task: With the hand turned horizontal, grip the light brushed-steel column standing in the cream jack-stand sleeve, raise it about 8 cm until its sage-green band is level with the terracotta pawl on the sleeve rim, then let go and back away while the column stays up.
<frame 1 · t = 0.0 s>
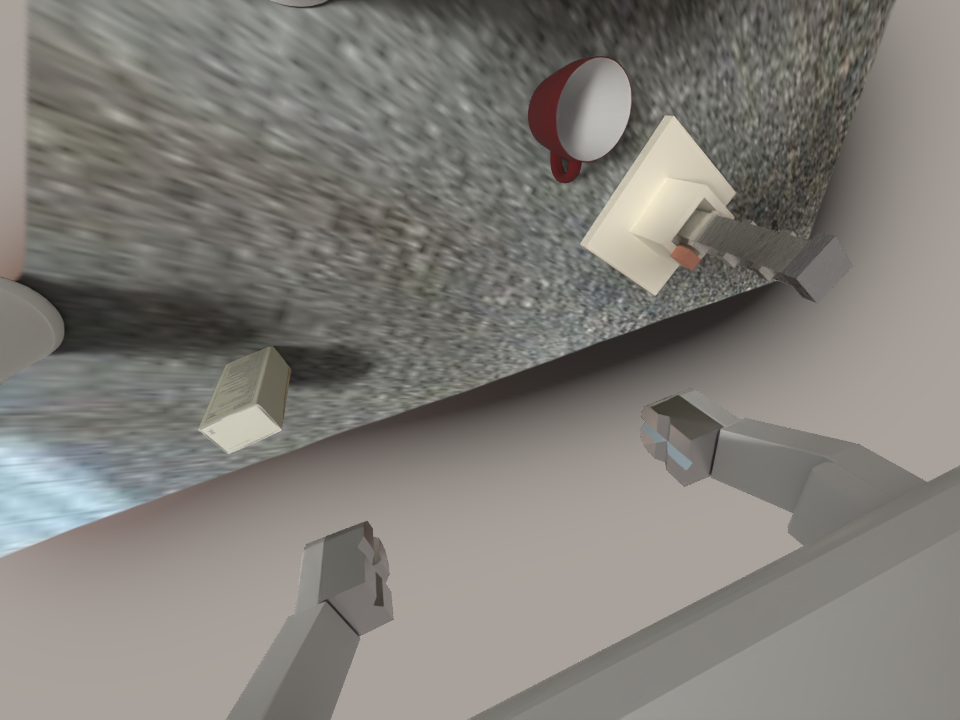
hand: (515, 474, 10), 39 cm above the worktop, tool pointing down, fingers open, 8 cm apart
skincare box: (260, 364, 46), on the worktop
mug: (544, 125, 42), on the worktop
column: (723, 238, 44), point 12 cm above the worktop, slide at 0.0 cm
stand: (656, 216, 53), on the worktop
vodka: (4, 313, 35), on the worktop
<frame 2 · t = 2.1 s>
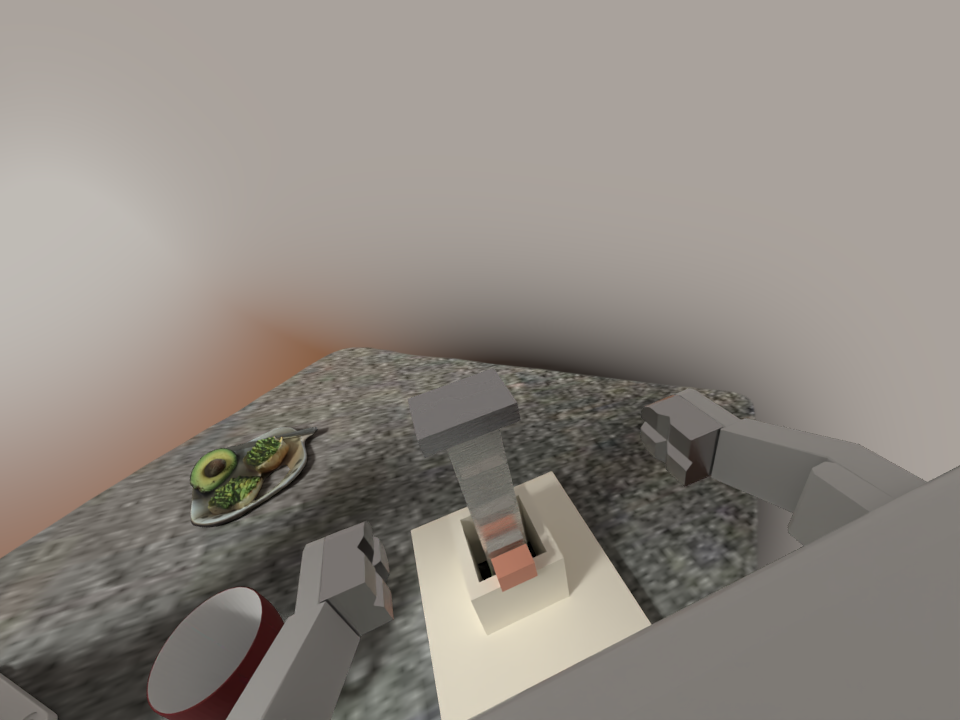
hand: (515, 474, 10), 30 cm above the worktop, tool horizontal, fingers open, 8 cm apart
salad plate: (252, 477, 57), on the worktop
mug: (284, 695, 32), on the worktop
column: (492, 509, 30), point 12 cm above the worktop, slide at 0.0 cm
stand: (514, 579, 36), on the worktop
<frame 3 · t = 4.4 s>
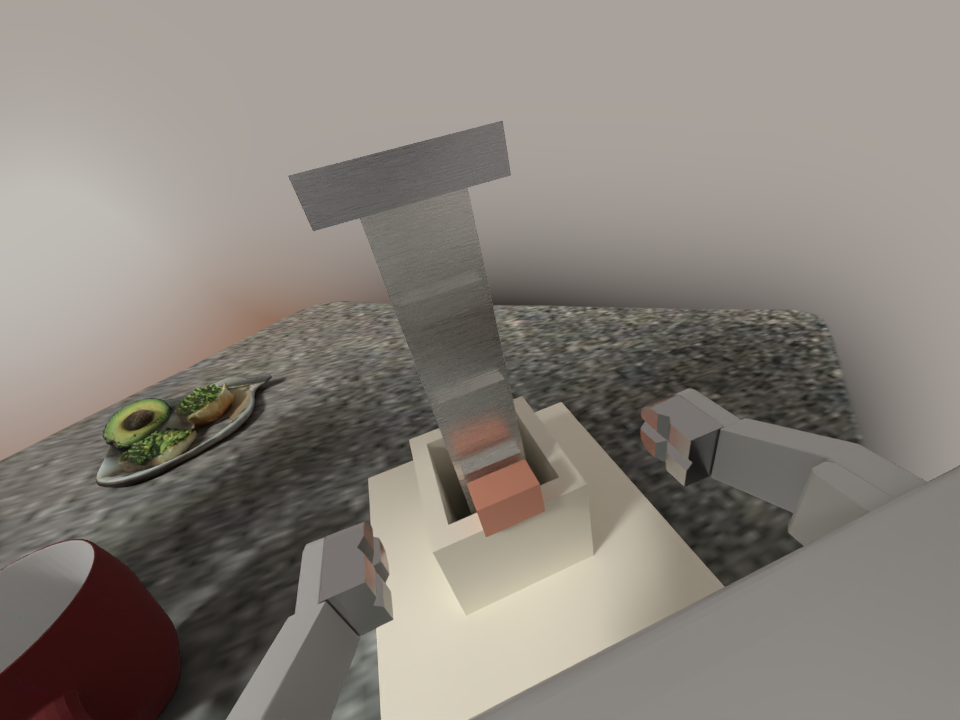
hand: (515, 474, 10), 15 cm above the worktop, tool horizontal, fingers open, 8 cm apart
salad plate: (187, 432, 46), on the worktop
mug: (155, 710, 21), on the worktop
column: (471, 409, 18), point 12 cm above the worktop, slide at 0.0 cm
stand: (510, 538, 25), on the worktop
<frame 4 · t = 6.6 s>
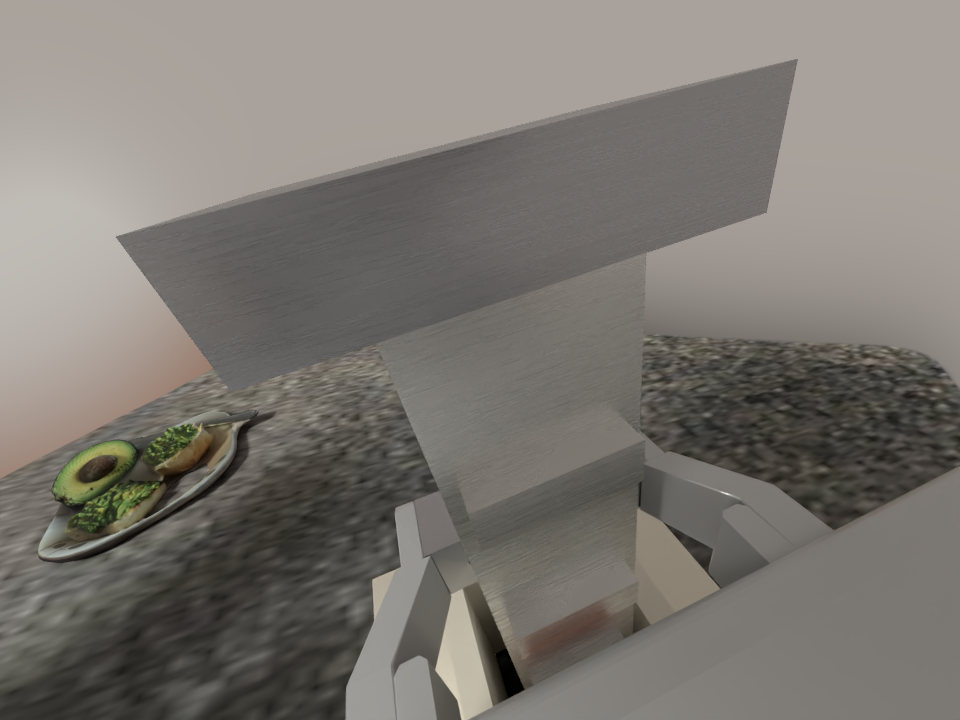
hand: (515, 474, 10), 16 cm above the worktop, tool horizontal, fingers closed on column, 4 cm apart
salad plate: (156, 481, 39), on the worktop
column: (545, 573, 11), point 12 cm above the worktop, slide at 0.0 cm, touching gripper
stand: (573, 696, 17), on the worktop
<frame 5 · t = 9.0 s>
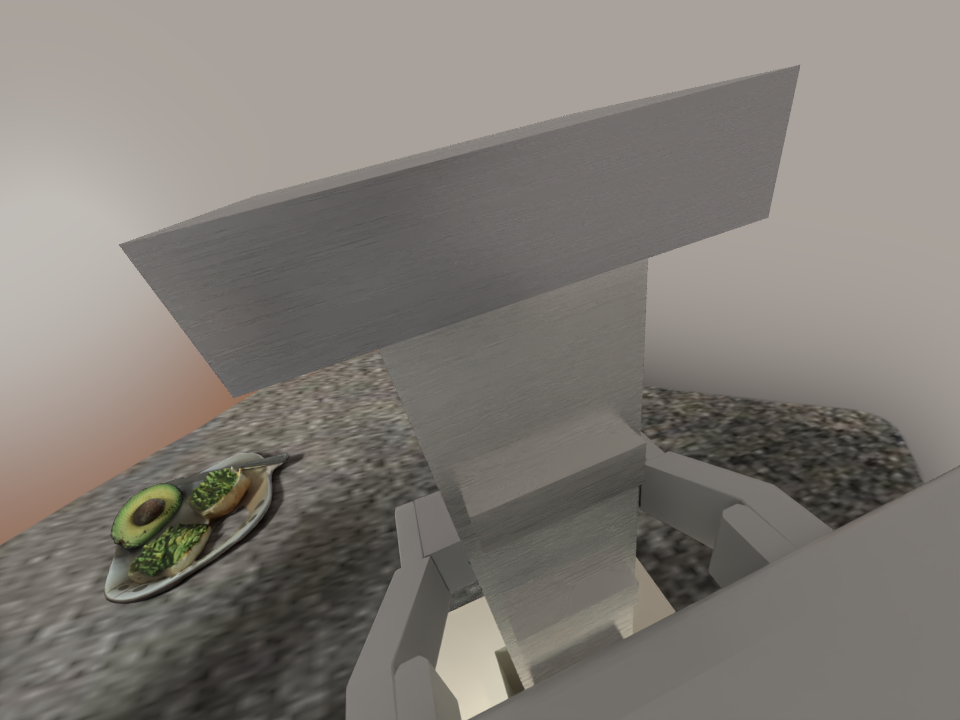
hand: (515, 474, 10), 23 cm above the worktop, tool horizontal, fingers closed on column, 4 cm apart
salad plate: (200, 522, 43), on the worktop
column: (546, 573, 11), point 20 cm above the worktop, slide at 7.8 cm, touching gripper
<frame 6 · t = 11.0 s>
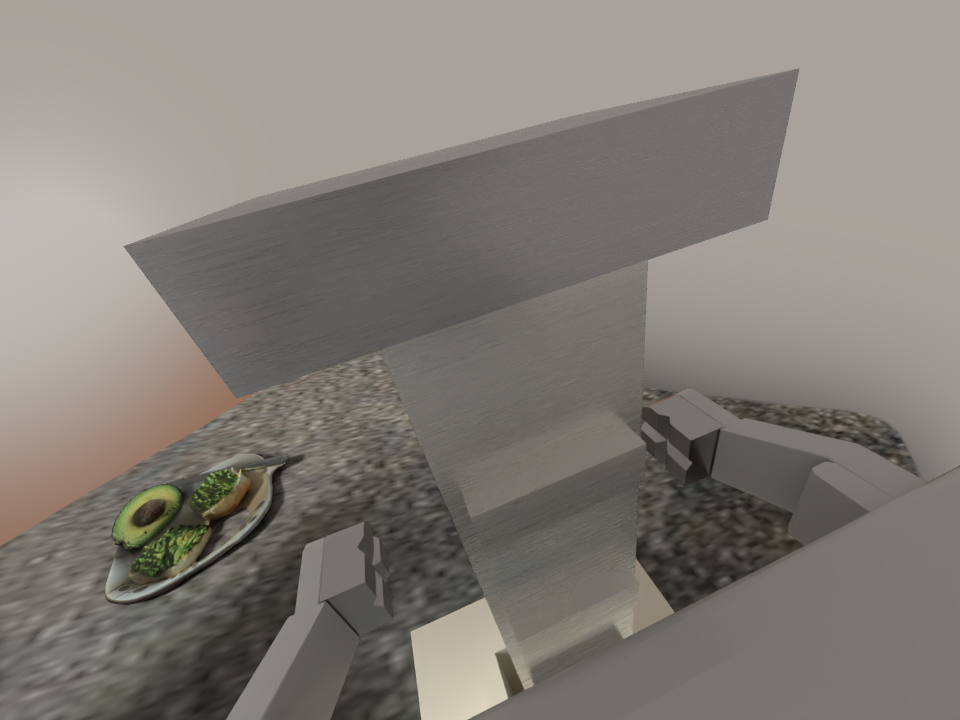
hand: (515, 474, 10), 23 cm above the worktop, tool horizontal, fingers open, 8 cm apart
salad plate: (201, 523, 43), on the worktop
column: (546, 574, 11), point 20 cm above the worktop, slide at 7.9 cm
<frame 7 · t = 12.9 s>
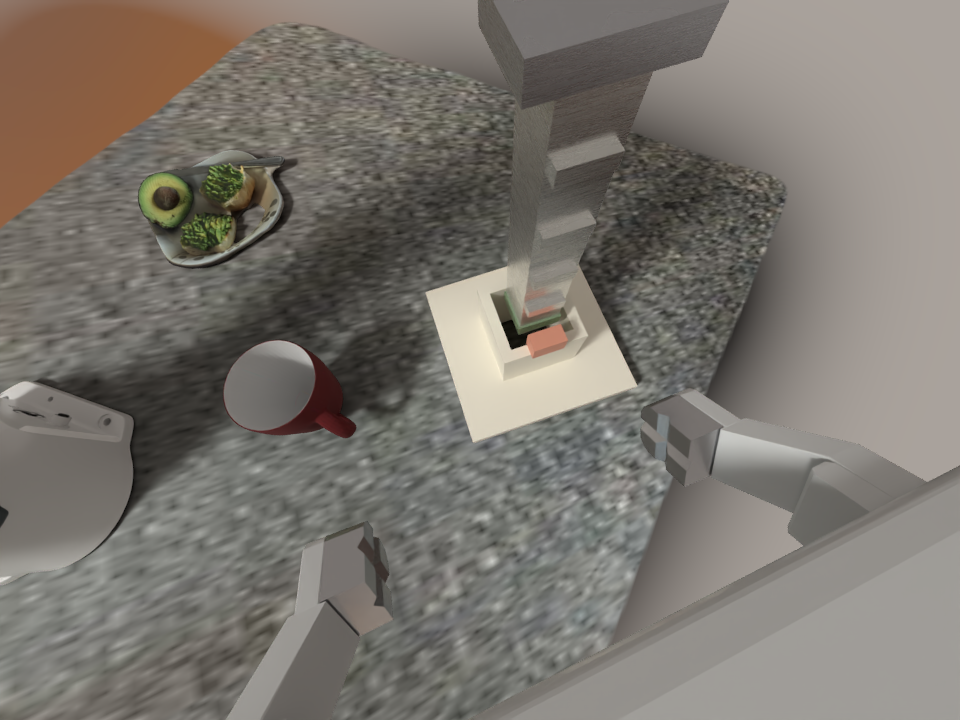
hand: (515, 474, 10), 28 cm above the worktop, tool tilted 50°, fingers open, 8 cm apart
salad plate: (218, 214, 49), on the worktop
mug: (334, 410, 40), on the worktop
column: (547, 230, 22), point 20 cm above the worktop, slide at 7.9 cm
stand: (524, 341, 41), on the worktop
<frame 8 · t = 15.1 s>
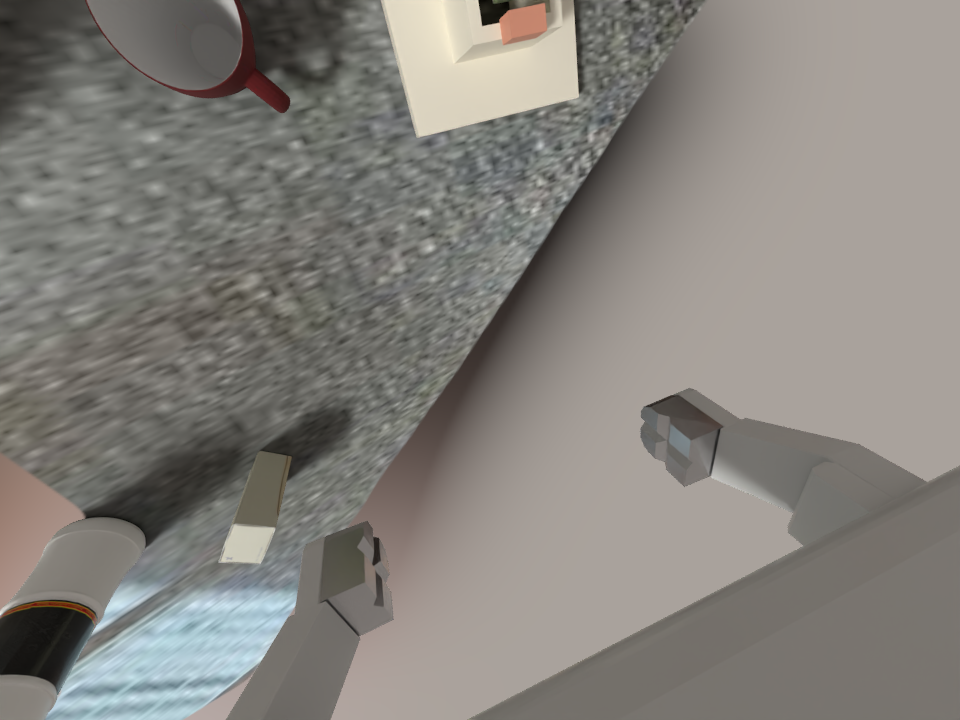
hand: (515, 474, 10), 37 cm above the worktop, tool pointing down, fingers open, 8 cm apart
skincare box: (269, 467, 50), on the worktop
mug: (235, 64, 31), on the worktop
stand: (479, 5, 34), on the worktop
vodka: (105, 536, 48), on the worktop
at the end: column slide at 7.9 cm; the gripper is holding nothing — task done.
